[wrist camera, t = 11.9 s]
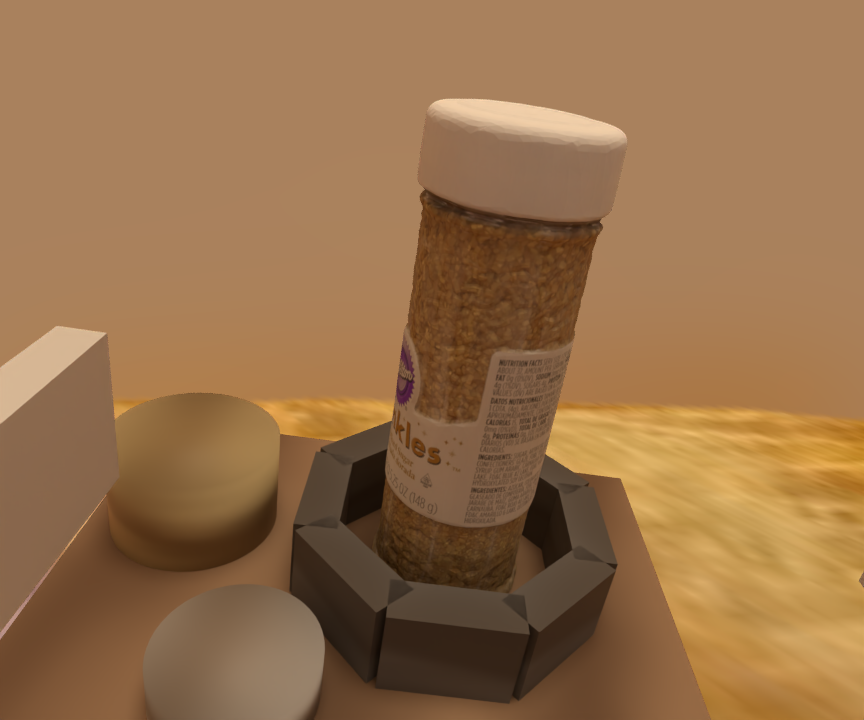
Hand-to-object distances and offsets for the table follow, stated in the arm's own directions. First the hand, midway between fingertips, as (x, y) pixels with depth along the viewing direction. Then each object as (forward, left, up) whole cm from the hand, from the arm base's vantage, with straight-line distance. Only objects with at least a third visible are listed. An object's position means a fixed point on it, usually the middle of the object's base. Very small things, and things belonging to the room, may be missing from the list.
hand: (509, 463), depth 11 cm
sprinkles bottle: (0, -7, -9) cm, 11 cm away
